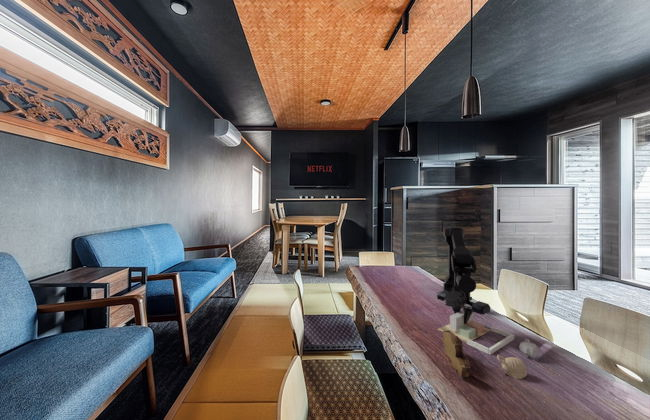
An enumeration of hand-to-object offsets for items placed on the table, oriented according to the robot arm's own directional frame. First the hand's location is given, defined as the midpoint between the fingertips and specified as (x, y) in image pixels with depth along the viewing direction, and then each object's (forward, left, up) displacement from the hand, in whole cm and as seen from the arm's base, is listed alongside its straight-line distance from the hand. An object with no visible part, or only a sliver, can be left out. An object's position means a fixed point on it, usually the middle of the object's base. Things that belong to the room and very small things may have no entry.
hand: (461, 322), depth 101 cm
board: (0, +1, -4) cm, 4 cm away
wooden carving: (+22, +11, -4) cm, 25 cm away
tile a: (-3, +4, -3) cm, 5 cm away
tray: (0, +11, -4) cm, 12 cm away
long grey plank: (0, 0, -1) cm, 1 cm away
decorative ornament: (+11, +22, -4) cm, 25 cm away
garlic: (-4, +21, -4) cm, 22 cm away
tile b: (+3, +3, -3) cm, 5 cm away
